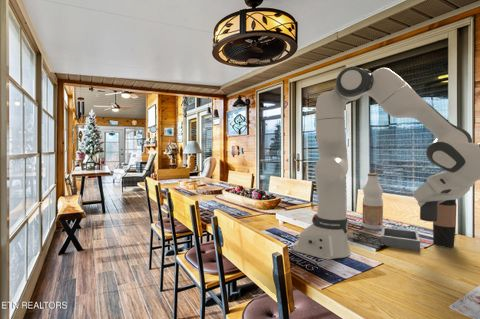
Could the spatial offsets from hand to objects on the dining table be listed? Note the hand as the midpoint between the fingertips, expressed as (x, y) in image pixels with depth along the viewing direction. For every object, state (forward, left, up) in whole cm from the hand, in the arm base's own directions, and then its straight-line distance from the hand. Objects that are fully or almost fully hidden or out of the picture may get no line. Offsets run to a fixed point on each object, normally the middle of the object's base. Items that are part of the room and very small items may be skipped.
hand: (427, 204), depth 106 cm
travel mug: (+7, +15, -20) cm, 26 cm away
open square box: (-9, +9, -19) cm, 23 cm away
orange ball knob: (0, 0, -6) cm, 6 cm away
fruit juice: (-21, +28, -20) cm, 40 cm away
